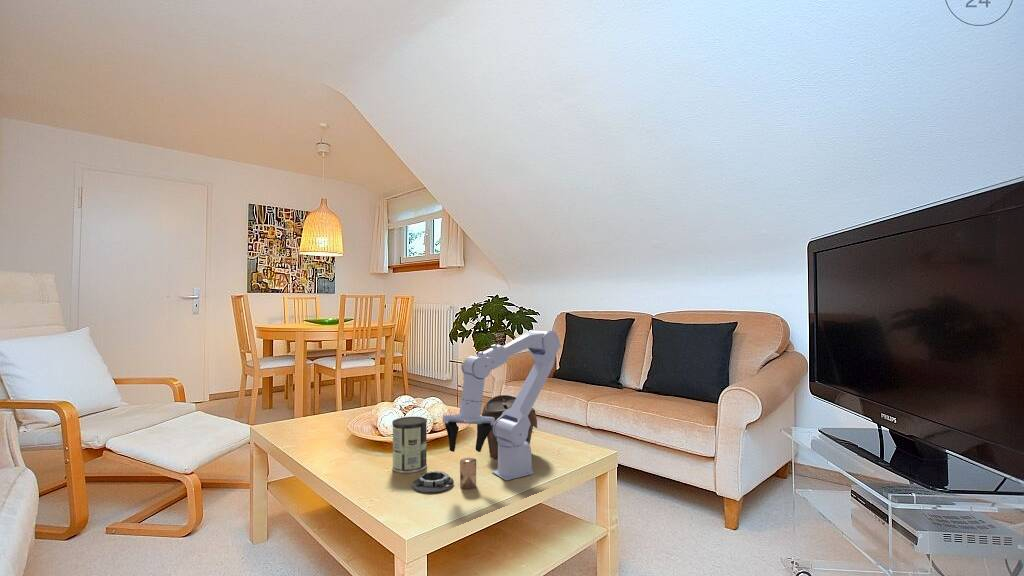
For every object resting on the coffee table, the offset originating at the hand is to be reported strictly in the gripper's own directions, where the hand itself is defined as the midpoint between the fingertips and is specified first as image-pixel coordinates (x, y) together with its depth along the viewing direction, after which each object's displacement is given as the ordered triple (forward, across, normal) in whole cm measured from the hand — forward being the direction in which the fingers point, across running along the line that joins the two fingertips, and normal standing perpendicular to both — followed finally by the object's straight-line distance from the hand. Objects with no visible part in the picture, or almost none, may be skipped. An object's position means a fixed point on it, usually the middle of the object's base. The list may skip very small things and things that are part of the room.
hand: (465, 450), depth 128 cm
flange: (+10, -6, +5) cm, 13 cm away
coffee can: (+11, -8, +22) cm, 26 cm away
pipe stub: (+9, +2, 0) cm, 10 cm away
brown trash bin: (+6, +24, +20) cm, 32 cm away
